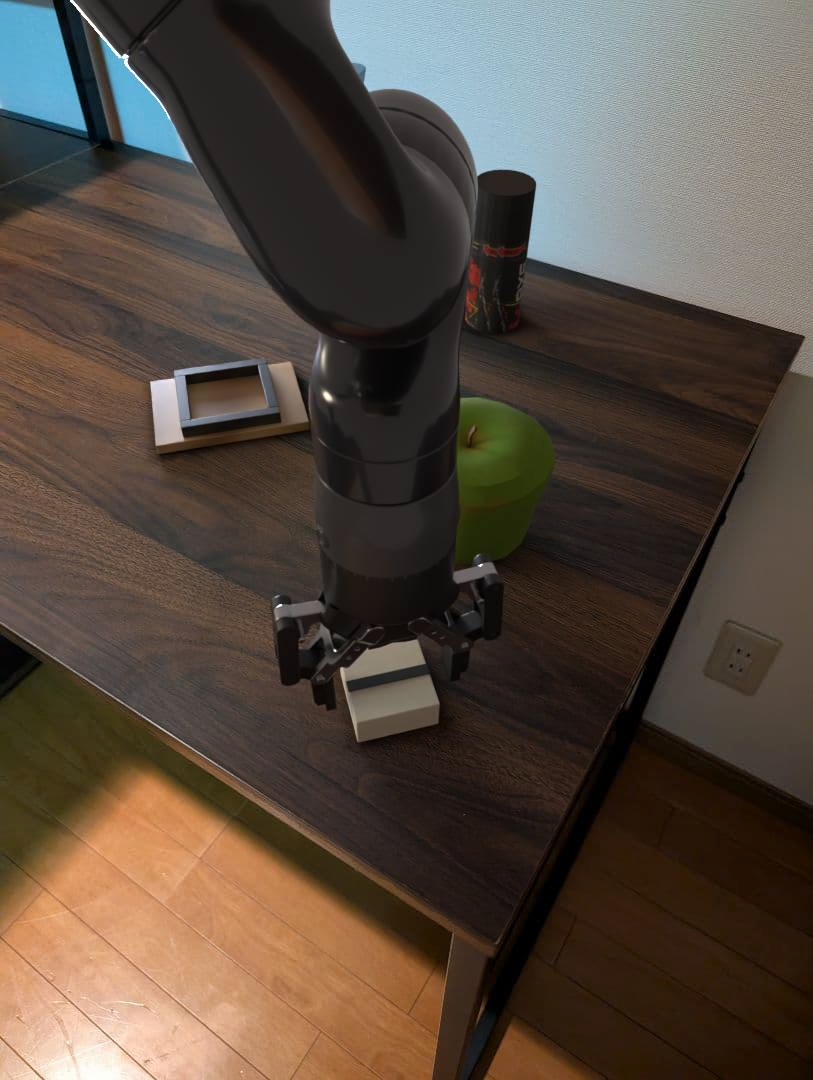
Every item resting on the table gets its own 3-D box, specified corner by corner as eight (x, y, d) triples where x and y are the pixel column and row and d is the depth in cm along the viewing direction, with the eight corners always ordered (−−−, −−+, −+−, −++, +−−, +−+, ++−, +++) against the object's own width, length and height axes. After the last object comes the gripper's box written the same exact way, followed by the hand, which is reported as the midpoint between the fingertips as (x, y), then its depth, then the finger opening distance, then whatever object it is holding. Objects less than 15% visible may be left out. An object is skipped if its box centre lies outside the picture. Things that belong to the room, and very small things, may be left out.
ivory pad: (358, 743, 53) (356, 722, 51) (340, 673, 57) (338, 652, 55) (438, 724, 54) (440, 703, 52) (416, 657, 58) (417, 635, 56)
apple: (530, 480, 70) (548, 374, 62) (547, 587, 62) (570, 481, 54) (389, 479, 70) (388, 373, 62) (387, 586, 62) (385, 480, 54)
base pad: (158, 454, 72) (152, 435, 71) (152, 389, 79) (147, 371, 77) (310, 430, 75) (308, 411, 73) (292, 369, 81) (290, 351, 80)
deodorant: (516, 336, 86) (534, 198, 75) (461, 330, 86) (471, 192, 75) (520, 307, 90) (538, 172, 79) (468, 301, 90) (478, 167, 79)
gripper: (490, 452, 46) (471, 620, 58) (243, 496, 43) (277, 663, 55) (538, 545, 41) (507, 707, 53) (263, 601, 39) (296, 758, 50)
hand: (390, 684), depth 54 cm, fingers open, 8 cm apart
